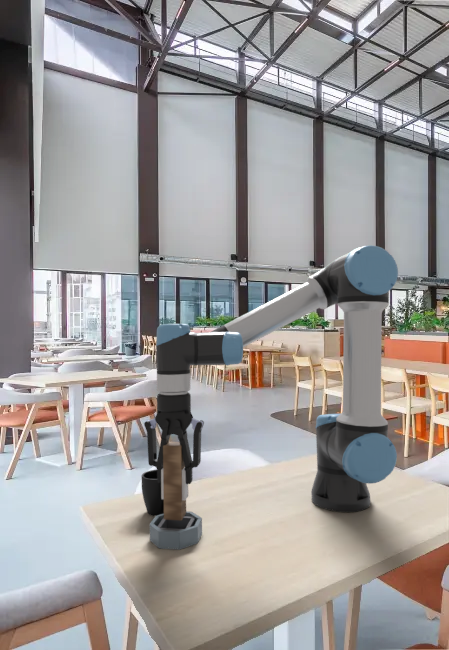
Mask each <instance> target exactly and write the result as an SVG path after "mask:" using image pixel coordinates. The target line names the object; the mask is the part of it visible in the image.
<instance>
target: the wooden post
mask: <svg viewBox="0 0 449 650" xmlns="http://www.w3.org/2000/svg"><path fill="white" fill-rule="evenodd" d="M184 467H185V466H184V461H183V456H182V445H180V442H179V441H170V440H169V443H167V444H166V445H164V446H163V483H164V519H165V520H182V519H183V517H184V516H185V514H186V511H187V499H186V500H182V470H183V468H184Z"/></svg>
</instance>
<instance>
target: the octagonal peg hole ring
mask: <svg viewBox="0 0 449 650" xmlns="http://www.w3.org/2000/svg"><path fill="white" fill-rule="evenodd" d="M202 535H203V518H202V517H201V516H199V515H198V514H196V513H194V512H193V511H187V510H186V514H185V516H184V517H183V519H182V520H165V519H164V514H160V515H157V516H154V517H153V519H152V520H151V521H150V523H149V541H150V542H151V543H152V544H154V545H155V546H156V547H157V548H158V549H164V550H179V551H180V550H182V549H185V548H187V547H191V546H194V545H197V544H198V543H199V541H200V539H201V537H202Z"/></svg>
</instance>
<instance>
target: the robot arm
mask: <svg viewBox="0 0 449 650" xmlns="http://www.w3.org/2000/svg"><path fill="white" fill-rule="evenodd" d="M398 269H399V268H398V264H397V262H396V260H395V258H394V257H393V255H392V254H391V253H390V252H389V251H388V250H386V249H384V248H383V247H380V246H377V245H363V246H361V247H356V248H354V249H352V250H351V251H350V252H348V253H346V254H344V255H342V256H339V257H338V258H335V259H334V260H333V261H332V262H330V263H329V264H327V265H326V266H324V267H323V268H322V269H320V270H319V271H316V272H315V273H313V274H312V275H309V276H307V278H306V281H305V282H304V283H303V284H301V285H298V286H297V287H295V288H293V289H292V290H289V291H288V292H285V293H283V294H281V295H279V296H277V297H275V298H273V299H272V300H270V301H267V302H266V303H264V304H262V305H260V306H258V307H257V308H254V309H252V310H250V311H248V312H246V313H244V314H242V315H240V316H239V317H237V318H234V319H232V320H231V321H229V322H227V323H225V324H223V325H222V326H219V327H218V328H216V329H214V330H212V331H210V332H209V331H207V332H195V331H193V332H192V331H191V329H190V327H191V326H190V325H189V324H187V323H163V324H160V325H159V326H158V327H157V329H156V343H155V348H156V349H155V350H156V352H155V353H156V391H157V392H158V393H157V395H156V415H155V417H154V418H152V419H148V420H146V421H145V422H143V423H144V424H143V425H144V427H145V430H146V437H147V438H146V440H147V456H148V457H147V458H148V460H147V461H148V465H149V466H151V467H155V469H156V470H157V481H158V483H161V499H164V483H163V446H164V445H166V444H167V443H169V441H170V438H171V435H175V436H177V440H179V441H178V442H180V445H182V456H183V461H184V466H185V467H184V468H183V470H182V500H186V501H187V499H188V497H189V485H190V484H192V482H193V469H194V468H198V466H199V465H200V464H201V462H202V460H201V459H202V453H201V452H202V430H203V428H204V424H205V421H204V420H202V419H201V420H198V419H196V418H194V416H193V414H192V412H191V411H192V409H191V407H192V405H191V404H192V403H191V401H192V399H191V398H192V397H191V393H190V392H189V391H191V366H227V367H228V366H230V365H239V364H241V363H242V362H243V359H244V357H243V356H244V348H245V347H247V346H248V345H250V344H252V343H254V342H257V341H258V340H260V339H261V338H265V336H268V335H270V334H272V333H274V332H275V331H277V330H280V329H281V328H283V327H285V326H286V325H289V324H291V323H293V322H295V321H297V320H298V319H301V318H302V317H304V316H306V315H308V314H310V313H312V312H314V311H316V310H318V309H321V310H326V309H328V308H330V307H332V306H334V305H337V306H338V307H339V308H340V309H341V310H342V312H343V357H342V358H343V361H342V362H343V364H342V365H343V368H342V369H343V371H342V372H343V374H342V375H343V377H342V378H343V379H342V381H343V382H342V385H343V386H342V412H341V413H327V414H320V415H318V416H317V417H316V421H315V423H316V424H315V432H316V434H315V435H316V436H315V437H316V439H315V440H316V461H317V462H316V463H317V464H316V465H317V467H316V469H317V470H316V475H315V477H314V479H313V480H314V481H313V483H312V484H313V485H312V487H311V494H310V495H311V502H312V503H313V504H314V505H316V506H317V507H319V508H321V509H324V510H327V511H332V512H338V513H340V512H341V513H351V512H352V513H353V512H355V513H356V512H360V511H363V510H366V509H368V508H369V507H370V506H371V494H370V493H371V492H370V490H369V487H368V485H367V484H369V485H370V484H376V483H380V482H382V481H383V480H385V479H386V478H387V477H388V476H389V475H391V473H392V472H393V471H394V469H395V467H396V465H397V458H398V455H397V448H396V447H395V445H394V444H393V441H392V440H391V439H390V437H389V435H388V434H389V421H388V420H387V419H386V418H385V417H384V416H383V415H382V332H383V331H382V330H383V327H382V325H383V324H382V320H383V319H382V317H383V314H382V313H383V312H384V310H385V309H387V307H389V304H390V303H389V301H390V299H389V298H390V295H389V294H390V291H391V290H392V289H393V287H394V286H395V285H396V283H397V280H398V277H399V270H398ZM157 425H158V427H159V428H160V429H161V435H160V445H159V448H158V449H159V450H157V432H156V431H157V430H156V428H157ZM190 425H191V426H192V427H191V428H192V429H193V435H192V436H193V440H192V442H193V443H192V454H191V449H190V444H189V439H188V431H187V429H188V428H189V426H190ZM157 451H158V452H157Z"/></svg>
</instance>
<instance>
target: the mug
mask: <svg viewBox="0 0 449 650" xmlns="http://www.w3.org/2000/svg"><path fill="white" fill-rule="evenodd" d="M141 492H142V498H143V501H144V505H145V508H146V511H147V514H148V515H149V516H153V517H155V516H157V515H160V514H164V499H161V483H158V481H157V469H152V470H147V471H145V472H143V473H142V474H141Z"/></svg>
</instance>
